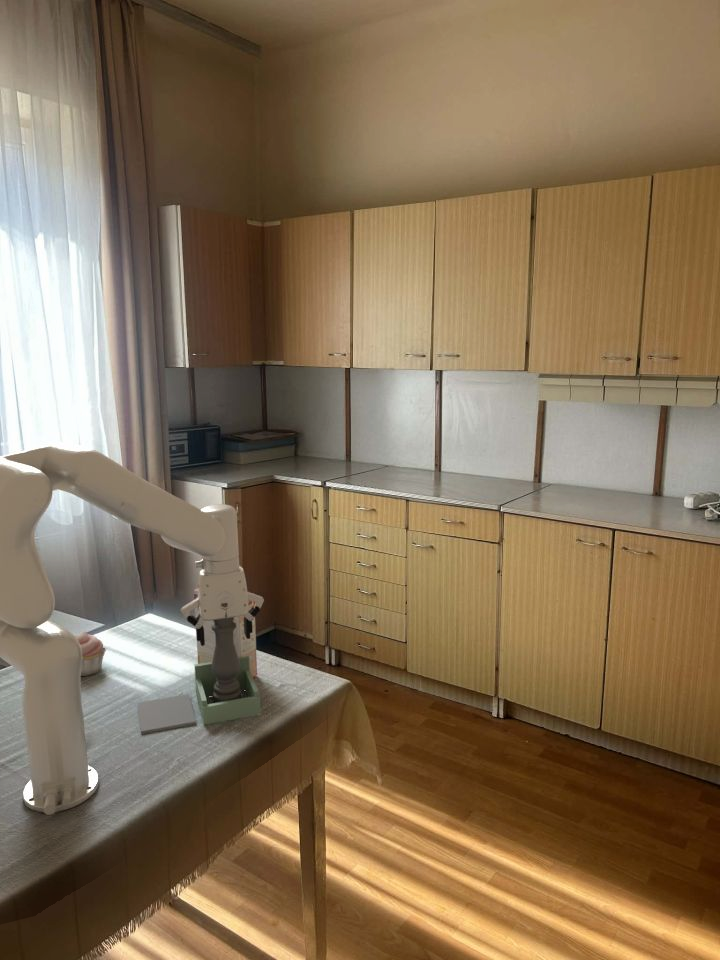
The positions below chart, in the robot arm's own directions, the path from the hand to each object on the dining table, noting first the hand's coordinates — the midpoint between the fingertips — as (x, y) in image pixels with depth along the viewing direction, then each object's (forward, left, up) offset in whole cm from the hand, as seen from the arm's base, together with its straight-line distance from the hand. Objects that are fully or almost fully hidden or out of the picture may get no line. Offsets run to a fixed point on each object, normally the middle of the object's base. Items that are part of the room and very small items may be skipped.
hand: (224, 639), depth 156 cm
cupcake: (+28, +29, -16) cm, 43 cm away
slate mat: (+1, +13, -16) cm, 20 cm away
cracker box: (+15, -2, -16) cm, 22 cm away
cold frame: (0, 0, -16) cm, 16 cm away
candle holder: (0, 0, -16) cm, 16 cm away
